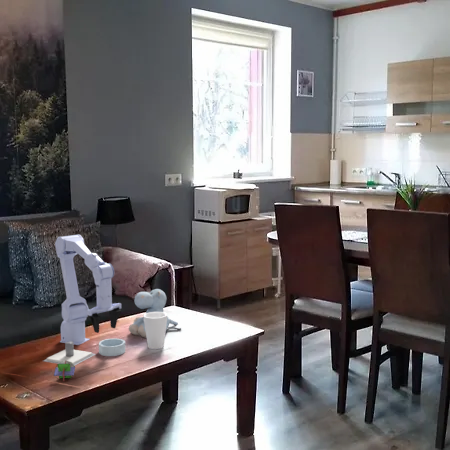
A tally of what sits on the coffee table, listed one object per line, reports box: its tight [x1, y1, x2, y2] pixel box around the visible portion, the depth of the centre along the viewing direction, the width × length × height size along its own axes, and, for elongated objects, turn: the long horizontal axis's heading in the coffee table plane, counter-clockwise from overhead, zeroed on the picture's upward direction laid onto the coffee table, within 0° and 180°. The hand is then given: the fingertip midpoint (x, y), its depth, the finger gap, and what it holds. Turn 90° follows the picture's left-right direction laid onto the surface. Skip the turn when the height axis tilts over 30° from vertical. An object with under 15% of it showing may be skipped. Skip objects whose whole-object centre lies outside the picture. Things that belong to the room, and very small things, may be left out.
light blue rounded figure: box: [128, 288, 182, 339], centre depth 261 cm, size 18×23×18 cm
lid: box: [46, 341, 93, 365], centre depth 229 cm, size 12×12×6 cm
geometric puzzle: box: [53, 360, 76, 383], centre depth 208 cm, size 7×7×8 cm
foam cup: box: [142, 311, 168, 350], centre depth 242 cm, size 10×9×13 cm
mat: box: [43, 353, 97, 367], centre depth 230 cm, size 14×14×1 cm
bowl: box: [98, 337, 126, 357], centre depth 236 cm, size 10×10×4 cm
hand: (105, 329), depth 233 cm, fingers open, 7 cm apart
